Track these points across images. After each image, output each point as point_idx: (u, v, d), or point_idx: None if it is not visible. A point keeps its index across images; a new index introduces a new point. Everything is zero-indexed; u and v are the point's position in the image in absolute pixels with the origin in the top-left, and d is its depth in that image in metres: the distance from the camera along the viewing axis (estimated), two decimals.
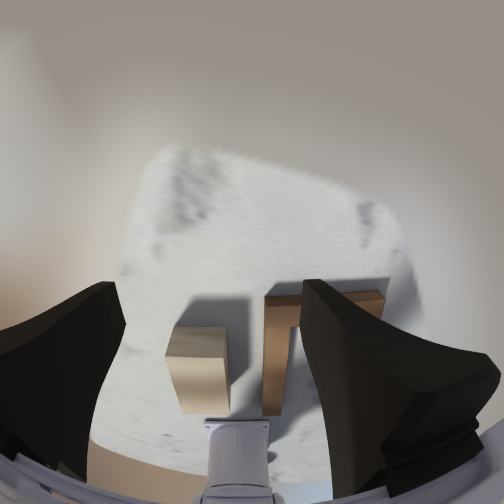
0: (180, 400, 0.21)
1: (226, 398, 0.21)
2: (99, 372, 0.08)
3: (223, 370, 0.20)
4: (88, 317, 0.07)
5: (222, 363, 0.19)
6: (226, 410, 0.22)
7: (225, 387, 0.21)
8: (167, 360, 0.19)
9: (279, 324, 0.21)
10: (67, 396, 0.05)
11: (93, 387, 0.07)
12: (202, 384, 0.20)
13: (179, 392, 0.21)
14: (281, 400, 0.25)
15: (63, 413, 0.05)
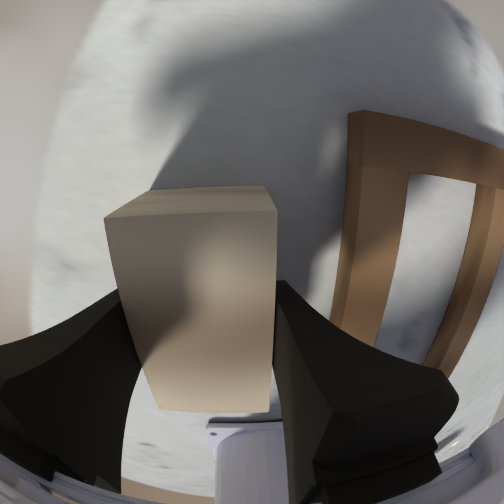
0: (150, 376, 0.09)
1: (267, 368, 0.09)
2: (131, 377, 0.08)
3: (272, 264, 0.07)
4: (121, 320, 0.07)
5: (272, 235, 0.07)
6: (262, 402, 0.09)
7: (270, 331, 0.08)
8: (109, 234, 0.07)
9: (389, 162, 0.08)
10: (103, 405, 0.06)
11: (125, 393, 0.07)
12: (206, 324, 0.08)
13: (145, 352, 0.08)
14: None
15: (99, 423, 0.05)
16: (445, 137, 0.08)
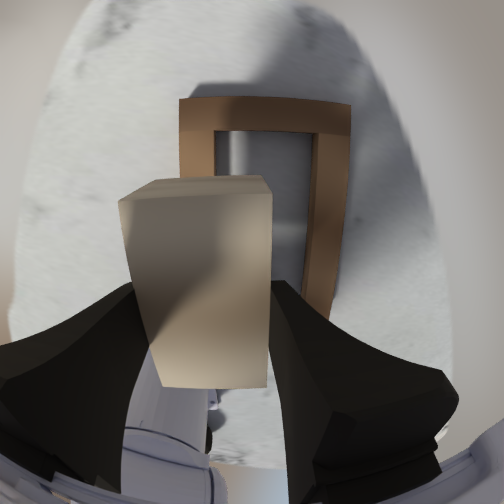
0: (155, 352, 0.10)
1: (265, 341, 0.10)
2: (131, 377, 0.08)
3: (268, 241, 0.08)
4: (121, 320, 0.07)
5: (268, 215, 0.08)
6: (260, 376, 0.10)
7: (267, 304, 0.09)
8: (123, 215, 0.07)
9: (197, 126, 0.14)
10: (103, 405, 0.06)
11: (125, 393, 0.07)
12: (209, 298, 0.09)
13: (151, 327, 0.09)
14: None
15: (99, 423, 0.05)
16: (247, 101, 0.14)
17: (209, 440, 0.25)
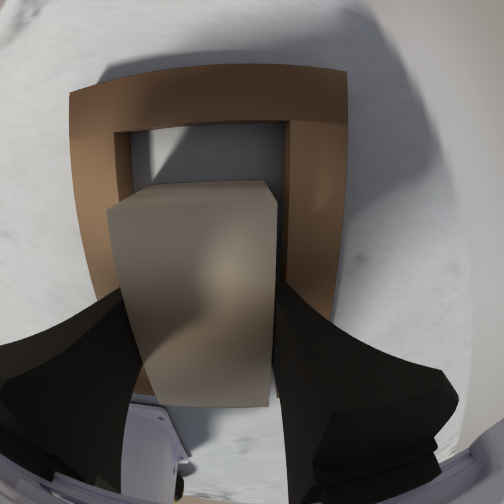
0: (150, 370, 0.09)
1: (267, 361, 0.09)
2: (131, 377, 0.08)
3: (272, 255, 0.07)
4: (121, 320, 0.07)
5: (272, 226, 0.07)
6: (262, 396, 0.09)
7: (270, 323, 0.08)
8: (111, 226, 0.07)
9: (92, 130, 0.08)
10: (103, 405, 0.06)
11: (125, 393, 0.07)
12: (207, 316, 0.08)
13: (145, 345, 0.08)
14: None
15: (99, 423, 0.05)
16: (163, 78, 0.07)
17: (178, 489, 0.18)
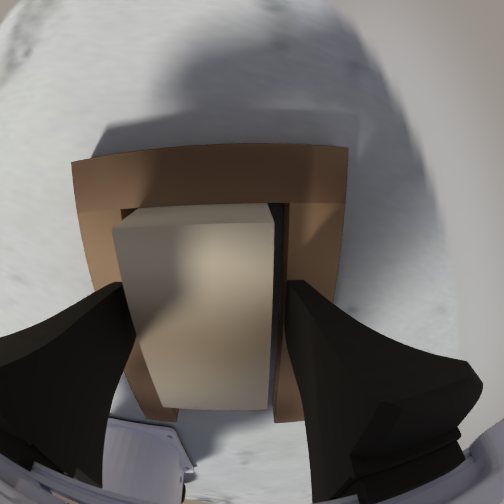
0: (154, 375, 0.09)
1: (266, 367, 0.09)
2: (114, 374, 0.08)
3: (270, 271, 0.08)
4: (103, 318, 0.07)
5: (269, 244, 0.07)
6: (261, 399, 0.10)
7: (268, 333, 0.08)
8: (117, 243, 0.07)
9: (98, 204, 0.09)
10: (83, 400, 0.06)
11: (107, 390, 0.07)
12: (208, 327, 0.08)
13: (150, 352, 0.09)
14: None
15: (79, 418, 0.05)
16: (165, 157, 0.08)
17: None
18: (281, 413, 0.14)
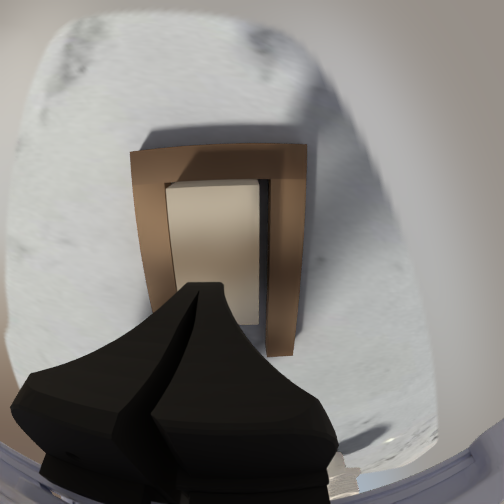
0: None
1: (256, 283, 0.15)
2: None
3: (257, 214, 0.13)
4: (192, 322, 0.08)
5: (257, 197, 0.13)
6: (254, 313, 0.16)
7: (257, 255, 0.14)
8: (168, 197, 0.13)
9: (148, 179, 0.15)
10: None
11: None
12: (220, 251, 0.14)
13: (180, 273, 0.14)
14: None
15: None
16: (195, 151, 0.14)
17: None
18: (271, 346, 0.19)
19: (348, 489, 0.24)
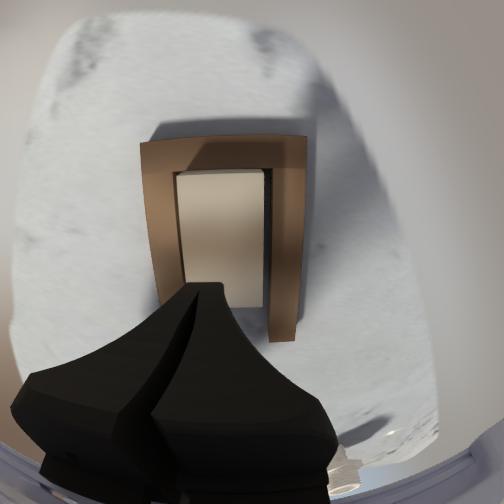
0: (188, 276, 0.16)
1: (261, 266, 0.16)
2: None
3: (262, 199, 0.14)
4: (192, 322, 0.08)
5: (261, 184, 0.14)
6: (258, 296, 0.16)
7: (261, 239, 0.15)
8: (179, 184, 0.14)
9: (157, 168, 0.15)
10: None
11: None
12: (227, 235, 0.15)
13: (188, 257, 0.15)
14: None
15: None
16: (201, 142, 0.15)
17: None
18: (274, 331, 0.20)
19: (350, 481, 0.25)
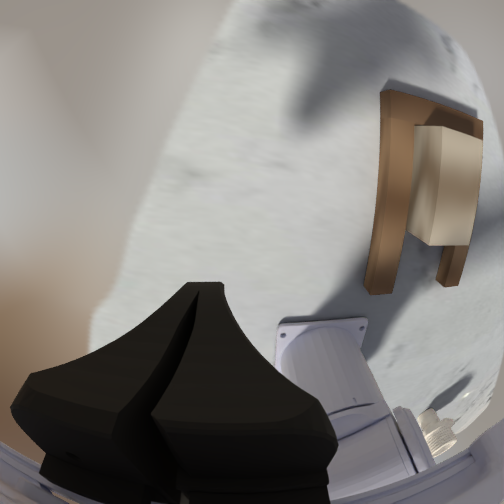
0: (436, 214, 0.15)
1: (475, 210, 0.15)
2: None
3: (481, 159, 0.13)
4: (192, 322, 0.08)
5: (481, 148, 0.13)
6: (469, 235, 0.15)
7: (478, 188, 0.14)
8: (443, 133, 0.13)
9: (403, 116, 0.14)
10: None
11: None
12: (464, 181, 0.14)
13: (441, 196, 0.14)
14: (398, 258, 0.18)
15: None
16: (433, 106, 0.14)
17: None
18: (449, 276, 0.19)
19: (451, 437, 0.24)
